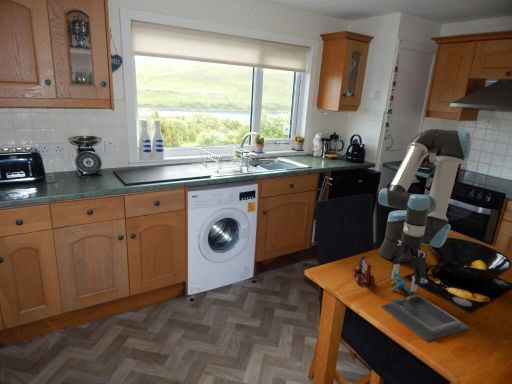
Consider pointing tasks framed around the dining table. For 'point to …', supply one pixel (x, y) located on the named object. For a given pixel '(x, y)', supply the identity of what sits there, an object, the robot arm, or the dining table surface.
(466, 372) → the dining table surface
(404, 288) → the blue toy figure
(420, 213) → the robot arm
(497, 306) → the dining table surface
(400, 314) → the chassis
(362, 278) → the dark red figurine
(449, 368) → the dining table surface
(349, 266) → the dining table surface
